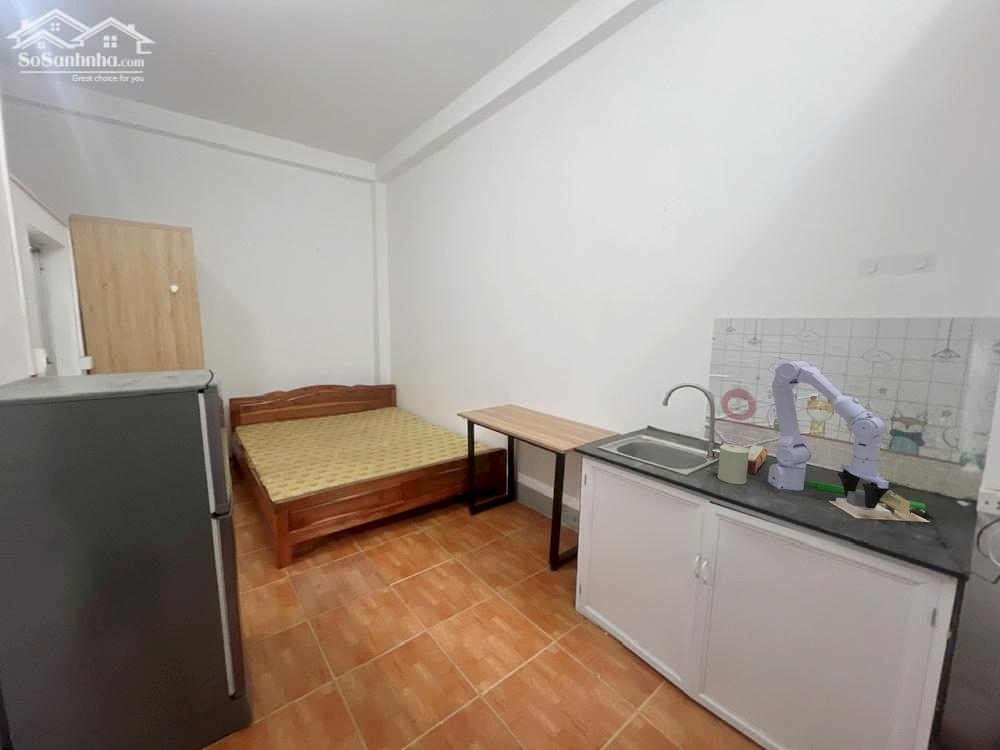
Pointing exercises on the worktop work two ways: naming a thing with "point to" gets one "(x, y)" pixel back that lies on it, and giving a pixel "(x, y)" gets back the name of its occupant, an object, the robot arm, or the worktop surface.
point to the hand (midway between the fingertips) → (859, 501)
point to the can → (733, 464)
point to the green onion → (840, 489)
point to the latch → (896, 502)
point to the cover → (861, 505)
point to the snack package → (755, 458)
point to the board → (894, 516)
